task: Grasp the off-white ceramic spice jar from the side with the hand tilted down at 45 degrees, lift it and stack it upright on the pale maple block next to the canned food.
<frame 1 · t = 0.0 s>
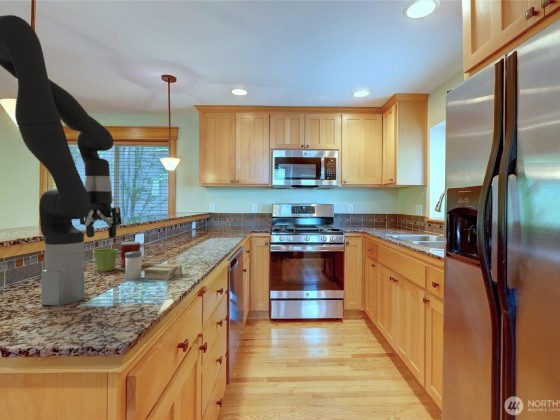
hand: (101, 237, 96), 17 cm above the counter, tool pointing down, fingers open, 8 cm apart
plant pot: (105, 270, 121), on the counter
canned food: (130, 266, 129), on the counter
maple base: (163, 275, 113), on the counter
spice jar: (133, 278, 108), on the counter
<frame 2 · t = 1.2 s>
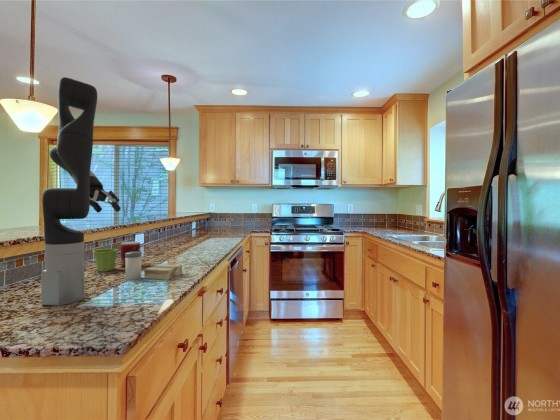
hand: (109, 210, 111), 26 cm above the counter, tool tilted 45°, fingers open, 8 cm apart
nothing on the counter moved.
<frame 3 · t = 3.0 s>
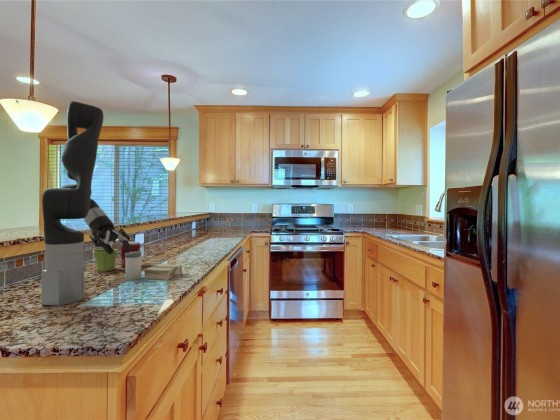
hand: (121, 251, 110), 10 cm above the counter, tool tilted 45°, fingers open, 8 cm apart
nothing on the counter moved.
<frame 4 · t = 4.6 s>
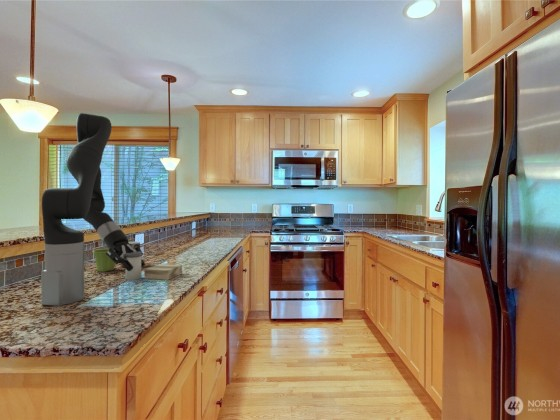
hand: (137, 267, 108), 4 cm above the counter, tool tilted 45°, fingers closed on spice jar, 5 cm apart
spice jar: (133, 278, 109), on the counter, touching gripper
everything else where it was.
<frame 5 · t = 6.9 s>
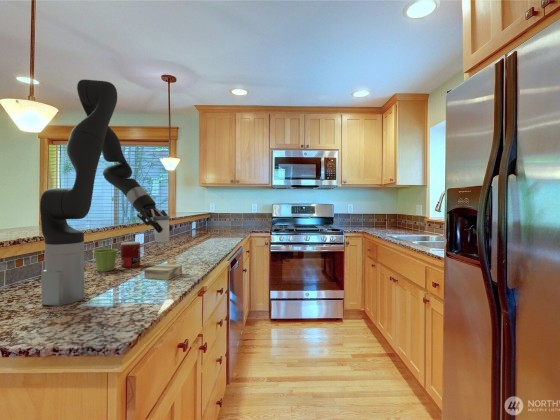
hand: (165, 230, 112), 18 cm above the counter, tool tilted 45°, fingers closed on spice jar, 5 cm apart
spice jar: (162, 241, 113), point 14 cm above the counter, touching gripper
everything else where it was.
when the fingers open (9 cm above the counter, at t = 9.1 s): spice jar drops 1 cm, resting on maple base.
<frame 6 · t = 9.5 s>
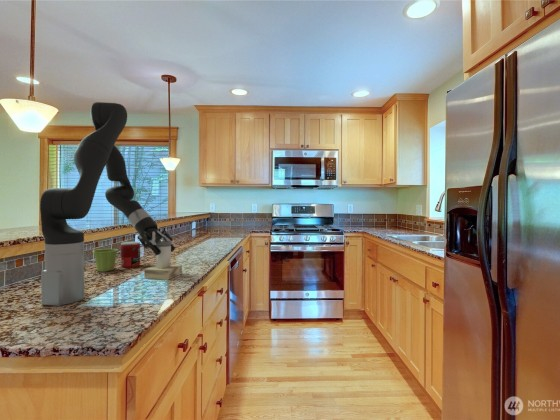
hand: (166, 252, 112), 10 cm above the counter, tool tilted 45°, fingers open, 8 cm apart
spice jar: (163, 267, 113), point 4 cm above the counter, touching maple base
everything else where it was.
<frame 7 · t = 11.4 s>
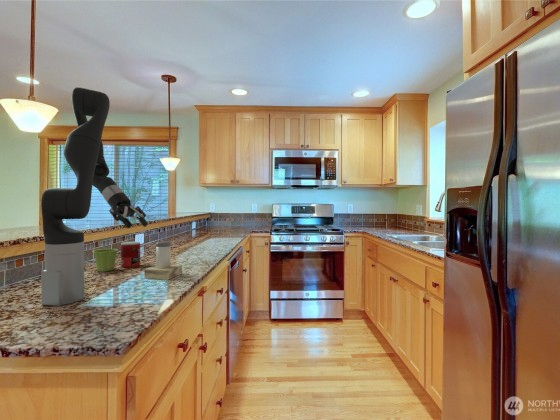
hand: (138, 226, 115), 20 cm above the counter, tool tilted 45°, fingers open, 8 cm apart
nothing on the counter moved.
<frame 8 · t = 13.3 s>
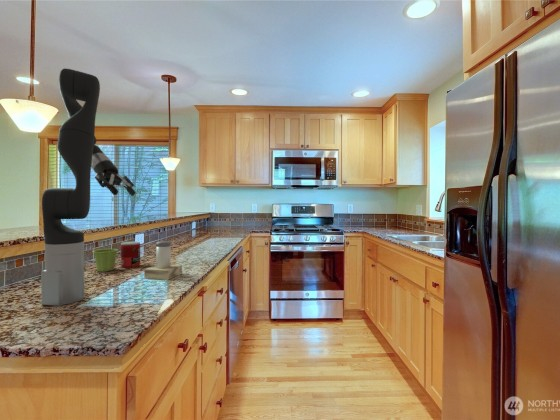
hand: (125, 194, 113), 33 cm above the counter, tool tilted 45°, fingers open, 8 cm apart
nothing on the counter moved.
at the end: spice jar inside the target area on the maple base (0.2 cm from its centre), point 3.5 cm above the maple base's base; spice jar tilted 1°; the gripper is holding nothing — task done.
